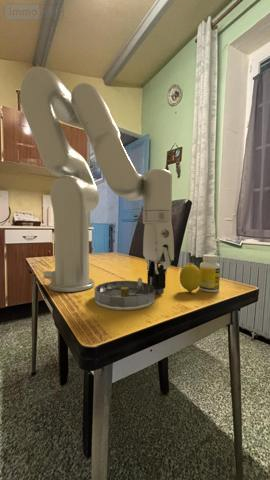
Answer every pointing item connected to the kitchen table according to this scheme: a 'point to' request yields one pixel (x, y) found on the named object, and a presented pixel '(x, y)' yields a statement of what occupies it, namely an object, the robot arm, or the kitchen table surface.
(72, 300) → the kitchen table surface
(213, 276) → the supplement bottle
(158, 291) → the gear
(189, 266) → the lemon
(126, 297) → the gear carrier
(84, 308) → the kitchen table surface
